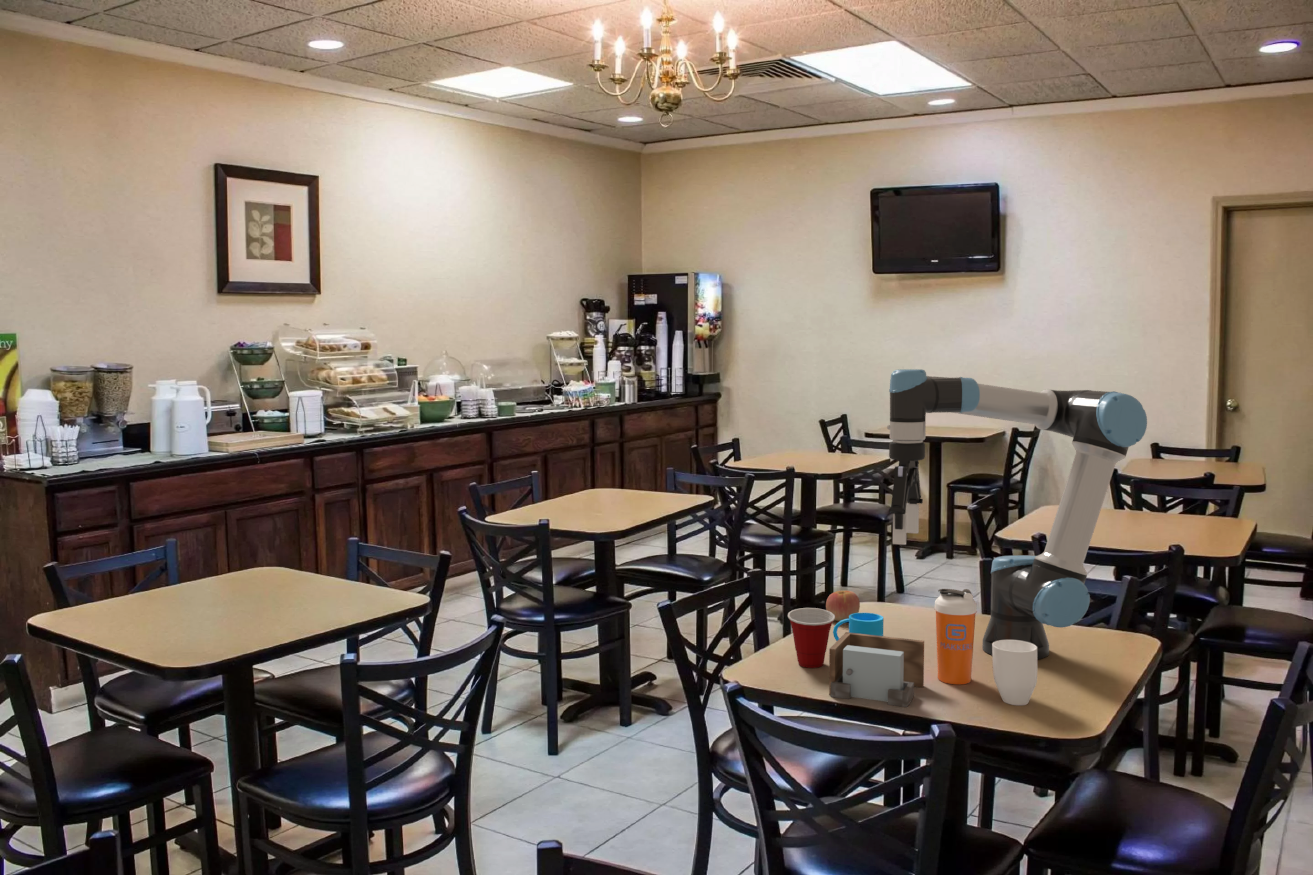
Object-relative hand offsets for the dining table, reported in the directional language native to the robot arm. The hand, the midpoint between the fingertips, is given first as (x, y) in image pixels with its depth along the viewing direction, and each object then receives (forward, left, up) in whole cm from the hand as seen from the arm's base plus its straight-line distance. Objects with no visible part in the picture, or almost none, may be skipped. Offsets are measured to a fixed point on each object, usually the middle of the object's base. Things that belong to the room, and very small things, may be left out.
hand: (905, 538), depth 229 cm
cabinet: (+4, +9, -32) cm, 33 cm away
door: (+4, +13, -32) cm, 35 cm away
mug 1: (+15, -19, -32) cm, 40 cm away
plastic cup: (+22, -3, -32) cm, 39 cm away
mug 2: (-23, +3, -32) cm, 39 cm away
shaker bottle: (-10, -5, -32) cm, 34 cm away
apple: (+25, -43, -32) cm, 59 cm away
